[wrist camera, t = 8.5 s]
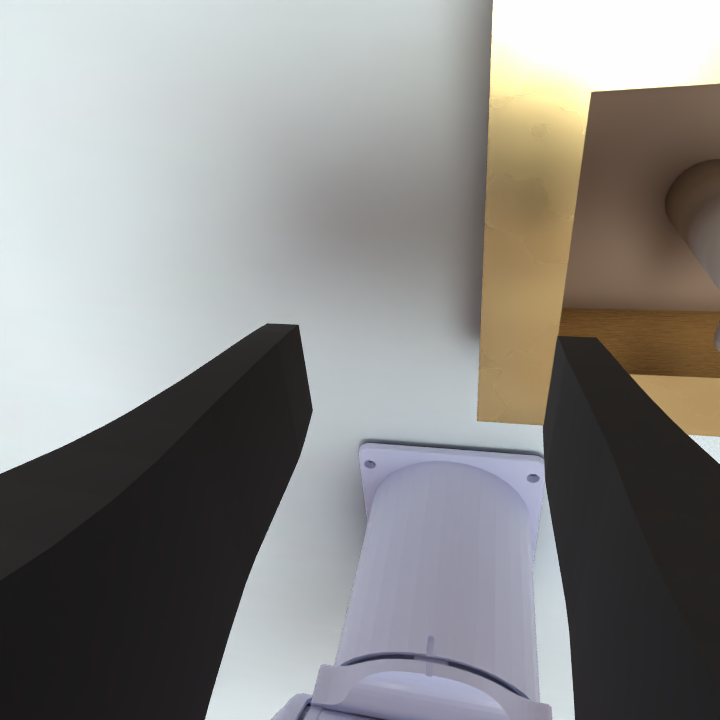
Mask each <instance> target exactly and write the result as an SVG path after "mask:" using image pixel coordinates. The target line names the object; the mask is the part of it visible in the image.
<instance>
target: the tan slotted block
mask: <svg viewBox="0 0 720 720" xmlns="http://www.w3.org/2000/svg"><path fill="white" fill-rule="evenodd" d="M717 83H720V0H493V21H492V47H491V73H490V99H489V124H488V150H487V176H486V201H485V227H484V253H483V279H482V304H481V330H480V356H479V382H478V407H477V421H484V422H499V423H515V424H530V425H544V418H545V412H546V405H547V399H548V392H549V386H550V379H551V373H552V367H553V360H554V354H555V347H556V341H557V336H575V337H597V339H598V340H599V341H600V342H601V343H602V344H603V345H604V346H605V347H606V349H607V350H608V351H609V352H610V353H611V354H612V355H613V356H614V358H615V359H616V360H617V361H618V362H619V363H620V364H621V366H622V367H623V368H624V369H625V370H626V371H627V372H628V374H629V375H630V376H631V377H632V378H633V379H634V380H635V381H636V382H637V384H638V385H639V386H640V387H641V388H642V389H643V390H644V391H645V392H646V393H647V395H648V396H649V397H650V398H651V399H652V400H653V401H654V402H655V403H656V404H657V405H658V406H659V407H660V408H661V409H662V410H663V411H664V412H665V413H666V414H667V415H668V416H669V417H670V418H671V419H672V420H673V421H674V422H675V423H676V424H677V425H678V426H679V427H680V428H681V429H682V430H683V431H684V432H685V433H686V434H687V435H702V436H717V437H720V352H719V351H718V350H717V348H716V346H715V344H714V336H715V332H716V329H717V326H718V323H719V320H720V311H673V310H619V309H565V308H562V303H563V296H564V288H565V281H566V273H567V266H568V259H569V251H570V244H571V237H572V229H573V222H574V215H575V207H576V200H577V192H578V185H579V178H580V170H581V163H582V156H583V148H584V141H585V133H586V126H587V119H588V111H589V104H590V97H591V92H593V91H608V90H624V89H639V88H655V87H670V86H686V85H701V84H717Z"/></svg>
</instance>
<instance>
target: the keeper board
mask: <svg viewBox="0 0 720 720" xmlns="http://www.w3.org/2000/svg"><path fill="white" fill-rule="evenodd" d="M562 308H565V309H619V310H673V311H720V83H717V84H701V85H686V86H670V87H655V88H639V89H624V90H608V91H593V92H591V97H590V104H589V111H588V119H587V126H586V133H585V141H584V148H583V156H582V163H581V170H580V178H579V185H578V192H577V200H576V207H575V215H574V222H573V229H572V237H571V244H570V251H569V259H568V266H567V273H566V281H565V288H564V296H563V303H562ZM714 344H715V346H716V348H717V350H718V351H719V352H720V320H719V323H718V326H717V329H716V332H715V336H714Z"/></svg>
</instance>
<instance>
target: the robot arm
mask: <svg viewBox="0 0 720 720" xmlns="http://www.w3.org/2000/svg"><path fill="white" fill-rule="evenodd" d="M312 411H313V409H312V403H311V397H310V391H309V385H308V379H307V373H306V367H305V361H304V355H303V349H302V343H301V337H300V331H299V325H291V324H266V325H264V326H262V327H260V328H259V329H257V330H255V331H254V332H252V333H251V334H249V335H248V336H246V337H245V338H243V339H242V340H240V341H239V342H237V343H236V344H234V345H233V346H231V347H230V348H228V349H227V350H225V351H224V352H222V353H221V354H220V355H218V356H217V357H215V358H214V359H212V360H211V361H209V362H208V363H206V364H205V365H203V366H202V367H200V368H199V369H197V370H196V371H194V372H193V373H191V374H190V375H188V376H187V377H185V378H184V379H182V380H181V381H179V382H177V383H176V384H174V385H173V386H171V387H169V388H168V389H166V390H164V391H163V392H161V393H160V394H158V395H156V396H155V397H153V398H151V399H150V400H148V401H147V402H145V403H143V404H142V405H140V406H138V407H137V408H135V409H133V410H132V411H130V412H128V413H126V414H125V415H123V416H121V417H119V418H118V419H116V420H114V421H112V422H110V423H108V424H107V425H105V426H103V427H101V428H99V429H97V430H95V431H93V432H91V433H89V434H87V435H85V436H83V437H81V438H79V439H77V440H75V441H73V442H71V443H69V444H67V445H65V446H63V447H61V448H59V449H56V450H54V451H52V452H50V453H47V454H45V455H43V456H40V457H38V458H36V459H34V460H31V461H29V462H27V463H24V464H22V465H20V466H18V467H15V468H13V469H11V470H8V471H6V472H4V473H1V474H0V720H205V716H206V713H207V709H208V705H209V702H210V698H211V694H212V691H213V688H214V684H215V681H216V677H217V674H218V671H219V667H220V664H221V661H222V657H223V654H224V651H225V647H226V644H227V641H228V637H229V634H230V631H231V628H232V625H233V621H234V618H235V615H236V612H237V609H238V606H239V603H240V600H241V597H242V593H243V590H244V587H245V584H246V581H247V579H248V576H249V574H250V571H251V568H252V566H253V563H254V561H255V558H256V556H257V554H258V551H259V549H260V547H261V544H262V542H263V540H264V538H265V535H266V533H267V531H268V529H269V526H270V524H271V522H272V519H273V517H274V515H275V513H276V510H277V508H278V506H279V504H280V501H281V499H282V497H283V494H284V492H285V490H286V488H287V485H288V483H289V481H290V478H291V476H292V474H293V471H294V469H295V467H296V464H297V462H298V459H299V457H300V454H301V451H302V447H303V444H304V441H305V437H306V434H307V430H308V426H309V423H310V419H311V415H312ZM543 443H544V459H543V458H541V457H539V456H535V455H521V454H508V453H495V452H482V451H469V450H456V449H443V448H430V447H416V446H403V445H390V444H377V443H365V444H363V445H362V446H361V447H360V450H359V454H358V456H359V463H360V471H361V478H362V486H363V494H364V501H365V509H366V516H367V528H366V533H365V537H364V541H363V545H362V550H361V554H360V558H359V562H358V567H357V571H356V575H355V579H354V584H353V588H352V592H351V596H350V600H349V605H348V609H347V613H346V617H345V622H344V626H343V630H342V634H341V639H340V643H339V647H338V651H337V656H336V660H335V664H334V666H331V665H321V666H320V669H319V673H318V677H317V681H316V685H315V689H314V693H313V695H310V694H305V693H302V694H296V695H295V696H294V697H292V698H291V699H290V700H289V701H288V702H287V704H286V705H285V706H284V707H283V708H282V709H281V710H280V711H279V712H277V713H276V714H275V715H274V717H273V718H272V719H271V720H552V708H551V706H550V705H548V704H545V703H540V693H539V676H538V659H537V641H536V624H535V607H534V590H533V572H532V568H533V561H534V554H535V547H536V541H537V534H538V527H539V520H540V513H541V506H542V499H543V493H544V486H545V482H546V488H547V495H548V501H549V507H550V513H551V519H552V525H553V531H554V536H555V542H556V548H557V554H558V560H559V566H560V572H561V577H562V583H563V589H564V595H565V601H566V609H567V617H568V625H569V634H570V649H571V663H572V677H573V692H574V708H575V720H720V464H719V463H718V462H717V461H715V460H714V459H713V458H712V457H711V456H710V455H709V454H708V453H707V452H706V451H705V450H703V449H702V448H701V447H700V446H699V445H698V444H697V443H696V442H695V441H694V440H692V439H691V438H690V437H689V436H688V435H687V434H686V433H685V432H684V431H683V430H682V429H681V428H680V427H679V426H678V425H677V424H676V423H675V422H674V421H673V420H672V419H671V418H670V417H669V416H668V415H667V414H666V413H665V412H664V411H663V410H662V409H661V408H660V407H659V406H658V405H657V404H656V403H655V402H654V401H653V400H652V399H651V398H650V397H649V396H648V395H647V393H646V392H645V391H644V390H643V389H642V388H641V387H640V386H639V385H638V384H637V382H636V381H635V380H634V379H633V378H632V377H631V376H630V375H629V374H628V372H627V371H626V370H625V369H624V368H623V367H622V366H621V364H620V363H619V362H618V361H617V360H616V359H615V358H614V356H613V355H612V354H611V353H610V352H609V351H608V350H607V349H606V347H605V346H604V345H603V344H602V343H601V342H600V341H599V340H598V339H597V337H575V336H557V341H556V347H555V354H554V360H553V367H552V373H551V379H550V386H549V392H548V399H547V405H546V412H545V418H544V425H543ZM368 460H370V461H373V462H369V461H368ZM530 474H535V475H536V476H530Z"/></svg>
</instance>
